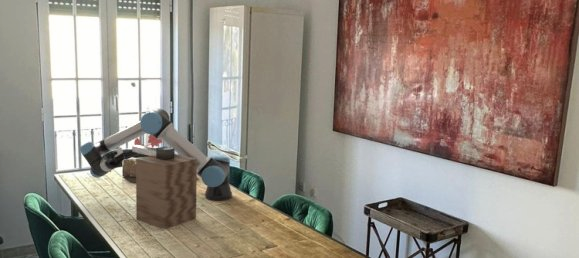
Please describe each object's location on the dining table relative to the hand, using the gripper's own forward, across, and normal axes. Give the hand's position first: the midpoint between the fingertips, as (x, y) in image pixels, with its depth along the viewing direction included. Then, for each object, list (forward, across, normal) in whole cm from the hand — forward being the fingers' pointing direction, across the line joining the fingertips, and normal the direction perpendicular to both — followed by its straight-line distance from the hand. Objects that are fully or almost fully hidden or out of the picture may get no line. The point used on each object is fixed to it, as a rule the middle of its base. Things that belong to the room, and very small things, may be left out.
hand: (133, 148), depth 250 cm
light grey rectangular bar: (+11, -1, -8) cm, 13 cm away
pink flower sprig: (-41, -39, -13) cm, 58 cm away
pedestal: (+5, -1, -40) cm, 40 cm away
